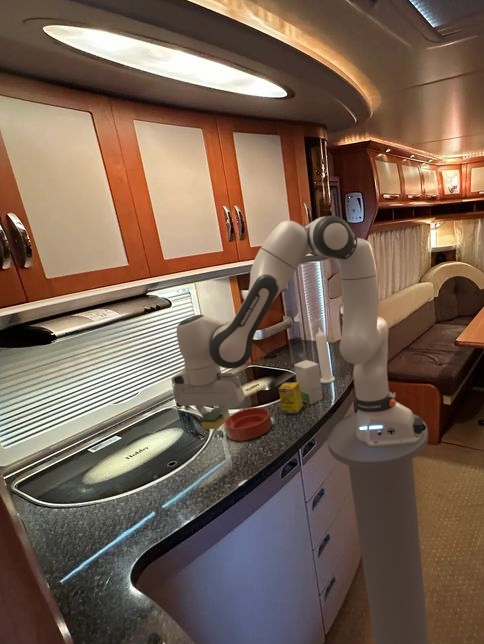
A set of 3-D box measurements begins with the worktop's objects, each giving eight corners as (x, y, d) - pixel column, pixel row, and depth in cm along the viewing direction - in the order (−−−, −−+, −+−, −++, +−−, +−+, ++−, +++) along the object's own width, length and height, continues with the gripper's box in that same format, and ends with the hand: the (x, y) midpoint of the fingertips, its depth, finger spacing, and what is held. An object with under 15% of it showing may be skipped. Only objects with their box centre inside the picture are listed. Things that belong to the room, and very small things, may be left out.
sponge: (230, 416, 111) (227, 407, 110) (216, 429, 105) (214, 419, 104) (216, 416, 112) (214, 407, 111) (202, 429, 106) (200, 419, 105)
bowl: (278, 419, 138) (276, 407, 137) (260, 442, 124) (257, 429, 123) (241, 419, 142) (239, 407, 141) (219, 441, 128) (216, 428, 126)
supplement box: (283, 414, 142) (278, 388, 138) (289, 407, 147) (284, 381, 144) (297, 415, 140) (292, 388, 137) (303, 407, 145) (299, 381, 142)
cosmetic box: (299, 400, 153) (292, 364, 148) (311, 394, 157) (305, 359, 152) (311, 405, 147) (305, 368, 142) (324, 398, 151) (318, 362, 146)
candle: (337, 380, 168) (329, 326, 161) (323, 385, 165) (314, 330, 157) (330, 376, 174) (323, 324, 167) (317, 380, 171) (308, 328, 163)
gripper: (243, 368, 104) (252, 412, 108) (180, 370, 109) (192, 412, 113) (231, 377, 98) (242, 423, 102) (165, 378, 103) (178, 423, 107)
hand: (215, 417), depth 108 cm, fingers closed on sponge, 4 cm apart
